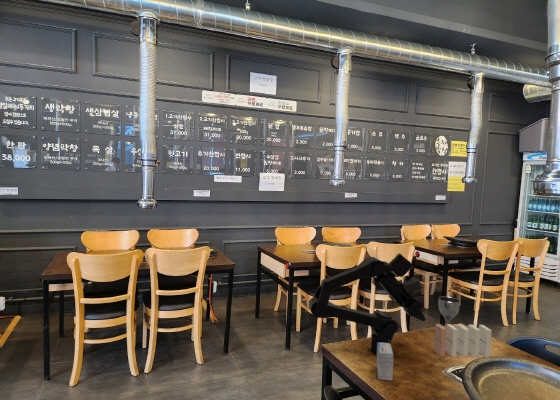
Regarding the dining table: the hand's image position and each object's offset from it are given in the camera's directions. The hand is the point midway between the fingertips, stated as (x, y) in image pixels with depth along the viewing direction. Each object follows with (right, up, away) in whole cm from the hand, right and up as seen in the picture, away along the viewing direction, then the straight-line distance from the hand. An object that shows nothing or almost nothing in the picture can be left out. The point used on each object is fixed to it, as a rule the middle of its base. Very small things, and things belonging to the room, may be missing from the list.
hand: (419, 316), depth 129 cm
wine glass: (+19, -14, +18) cm, 30 cm away
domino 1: (+7, -14, +1) cm, 16 cm away
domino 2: (+12, -14, +1) cm, 18 cm away
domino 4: (+20, -14, +1) cm, 25 cm away
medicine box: (-18, -14, -16) cm, 27 cm away
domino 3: (+16, -14, +1) cm, 21 cm away
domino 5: (+24, -15, +2) cm, 28 cm away
